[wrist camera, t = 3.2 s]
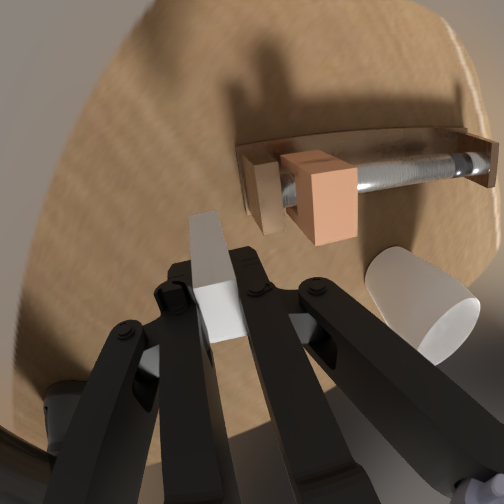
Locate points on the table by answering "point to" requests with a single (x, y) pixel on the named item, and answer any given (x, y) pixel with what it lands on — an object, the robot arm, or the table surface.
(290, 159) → the tan block
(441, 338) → the cup
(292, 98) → the table surface
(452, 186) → the table surface
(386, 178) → the wooden rod stand
